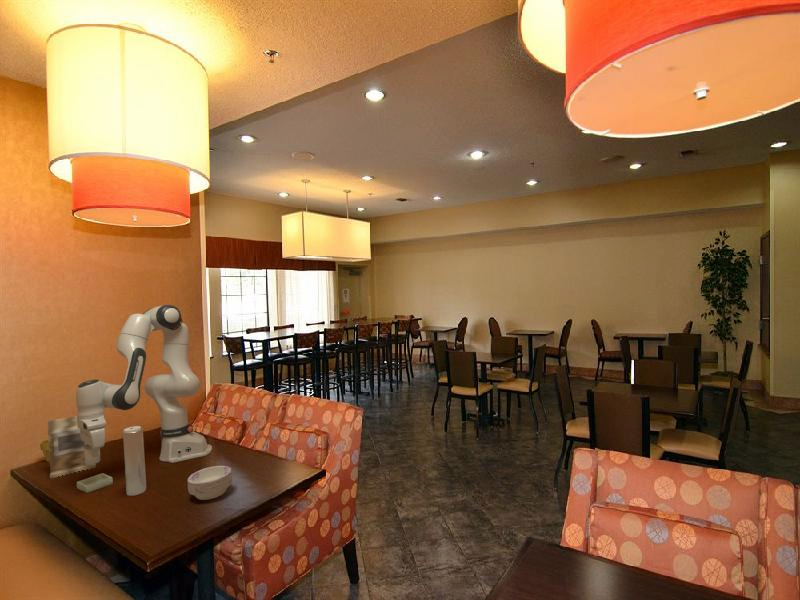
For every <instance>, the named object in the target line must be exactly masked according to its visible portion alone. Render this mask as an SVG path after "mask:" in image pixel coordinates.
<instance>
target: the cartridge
mask: <svg viewBox="0 0 800 600" xmlns="http://www.w3.org/2000/svg"><path fill="white" fill-rule="evenodd" d="M84 452H85V464H86V465H90V464H95V463H96V464H98V463H99V462H101V448H99V450H98V456H97V457H92V447H90V446H89V445H85V446H84Z"/></svg>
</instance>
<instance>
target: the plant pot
mask: <svg viewBox="0 0 800 600" xmlns="http://www.w3.org/2000/svg"><path fill="white" fill-rule="evenodd" d="M39 446H40V448H39V449H40V451H42V453H43V456H44V459H45V461H46V462H47V461H50V455H49V439H45V440H42V441H40V443H39Z"/></svg>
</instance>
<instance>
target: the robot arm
mask: <svg viewBox="0 0 800 600" xmlns="http://www.w3.org/2000/svg"><path fill="white" fill-rule="evenodd" d="M152 331H161V332H162V334H163V342H162V343H163V344H162V351H161V352H162V354H161V361H162V363H163V364H165V365H166V366H167V367H168V368H169V370H170V373H165V374H161V373H160V374H156V375H152V376H150V377H148V378H147V380H146V381H145V383H144V391H145V393H146V395H147V396H149V397H150V398H151V399H152V400H153V402H155V404H156V406H157V409H158V410H159V414H160V421H161V423H160V424H161V428H160V439H161V448H160V455H159V458H158V459H159V461H161V462H168V463H169V464H171V463H178V462H182V461H186V460H191V459H192V460H193V459H196V458H202V457H206V456H208V455H209V454H210V453H211V452H213V451H212V450H213V446H212V445H211V444H208V442H207V438H205V436H204V435H203V434H201V433H199V432H196V431H194V427H193V423H191V424H190V423H189V422H188V421H189V417H188V408H187V407H186V405H184V404H183V403H181V401H179V400H178V398H186V397H190V396H195V395H196V394H197V393H198V392H199V390H200V388H201V381H200V378H199V377H198V376H197V374H195V373H194V372H193V370H192V368H191V366H190V363H189V350H190V349H189V348H190V346H189V345H190V332H189V327H188V325H187V324H186V323H185V322H183V318H182V313H181V311H180V309H179V308H178V307H176V306H175V305H172V304H164V305H158V306H155V307H153V308H149V309H147V310H145V311H144V312H143V313H133V314H131V315H130V316H128V317H127V319H126V321H124V324H123V326H122V329H120V332H119V335H118V337H117V341H116V345H115V348H116V350H117V352H118V354H119V355H120V356H121V357H123V358H124V359H126V361H127V368H126V371H125V372H126V373H125V376H124V379H123V380H124V381H123V382H122V384H112V383H108V382H105V381H102V380H101V379H91V380H86V381H83V382H81V383H80V384H78V386H77V388H76V395H75V405H76V408H77V412H76V416H77V427H78V428H80V439H81V441H83V442H84V443H86V445H89V446H90V447H92V457H97V456H98V450H99V448H100V449H102V448H103V447H104V446H105V443H106V428H105V427H107V421H106V419H105V409H106V408H110V409H117V410H122V411H128V410H131V409H132V408H134V407H135V406H137V405H138V403H139V401H140V399H141V384H142V380H143V375H144V371H145V366H146V359H147V352H146V348H147V347H146V346H147V343H148V340H149V337H150V334H151V332H152Z"/></svg>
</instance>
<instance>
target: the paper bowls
mask: <svg viewBox="0 0 800 600" xmlns="http://www.w3.org/2000/svg"><path fill="white" fill-rule="evenodd" d="M188 476H189V475H188ZM232 483H233V470H232V468H231V467H229V466H227V465H216V466H215V465H213V466H209V467H205V468H202V469H200V470H198V471H195V472H194V473H191V475H190V476H189V477H187V490H188V494H190V495H192V496H194V497H195V498H196V499H198V500H201V501H207V500H213V499H216V498H218V497H220V496H222V495H224V494H225V492H227V489H228V487H229V486H231V485H232Z"/></svg>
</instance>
